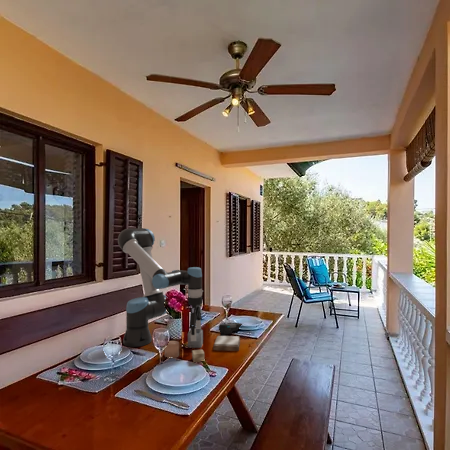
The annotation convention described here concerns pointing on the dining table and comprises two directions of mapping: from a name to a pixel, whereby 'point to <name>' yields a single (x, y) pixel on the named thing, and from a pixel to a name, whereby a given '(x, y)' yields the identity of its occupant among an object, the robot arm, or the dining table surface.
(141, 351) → the dining table surface
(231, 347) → the stand
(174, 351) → the brown rounded block
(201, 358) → the beech block
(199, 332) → the housing
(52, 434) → the dining table surface
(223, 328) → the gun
